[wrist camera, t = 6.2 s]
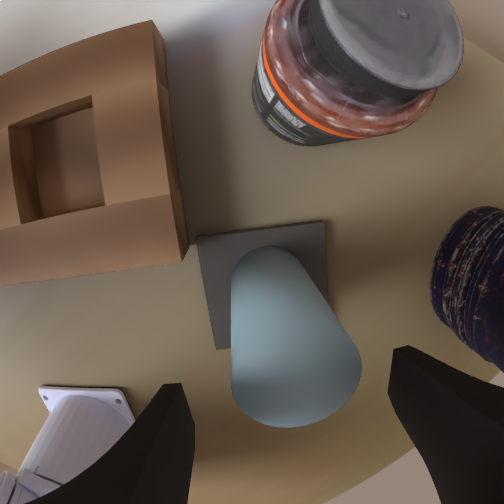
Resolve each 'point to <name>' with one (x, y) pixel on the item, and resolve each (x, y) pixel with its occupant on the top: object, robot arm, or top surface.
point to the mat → (239, 244)
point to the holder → (89, 161)
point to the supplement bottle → (352, 66)
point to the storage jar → (473, 282)
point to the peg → (286, 343)
